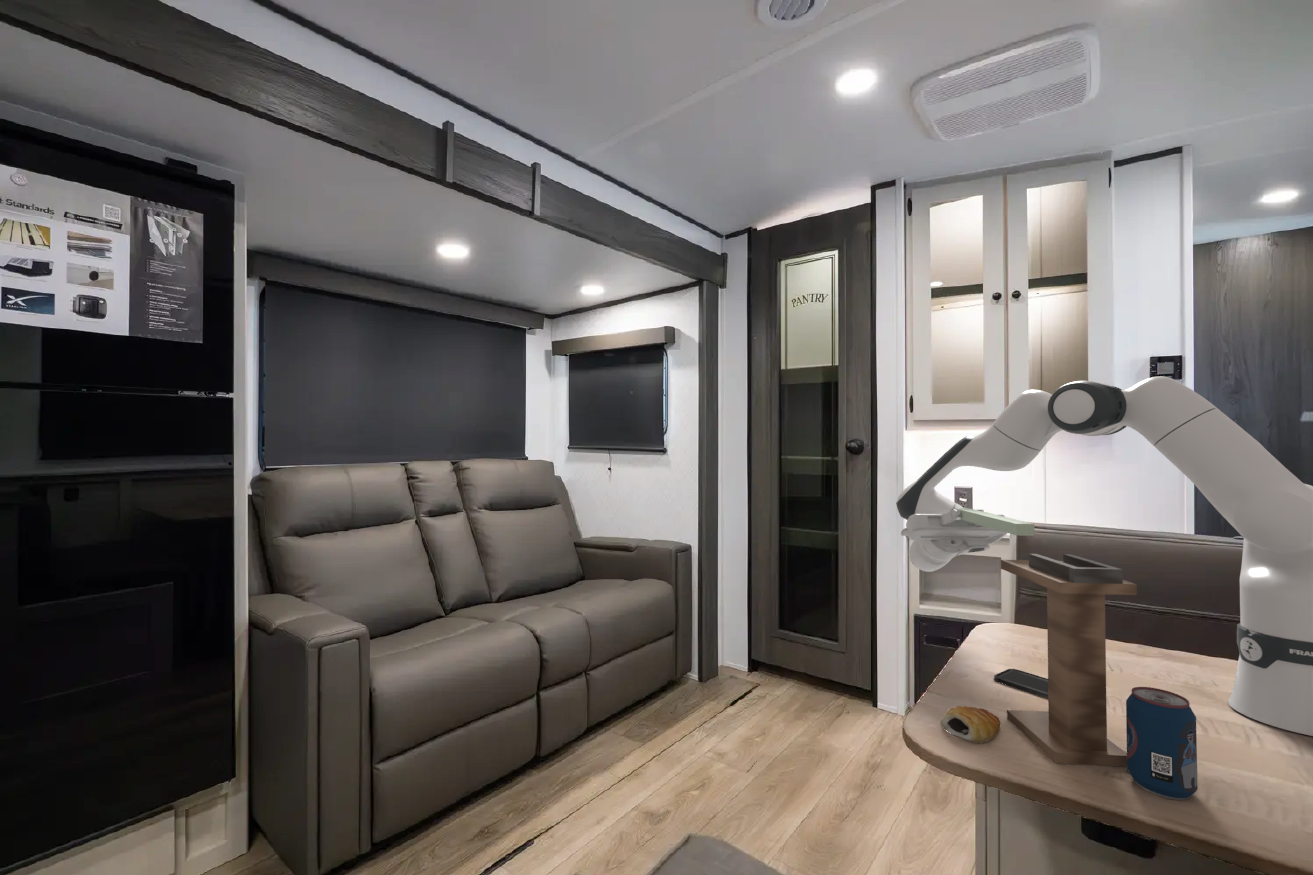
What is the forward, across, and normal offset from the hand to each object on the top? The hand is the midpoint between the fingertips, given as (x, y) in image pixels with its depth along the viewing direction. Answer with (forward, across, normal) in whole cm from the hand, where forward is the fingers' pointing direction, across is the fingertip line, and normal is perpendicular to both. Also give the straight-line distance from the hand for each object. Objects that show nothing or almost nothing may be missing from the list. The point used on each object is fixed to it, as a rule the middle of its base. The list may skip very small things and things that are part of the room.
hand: (969, 512), depth 116 cm
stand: (+11, 0, +42) cm, 44 cm away
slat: (+6, 0, +5) cm, 8 cm away
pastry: (+9, -13, +42) cm, 44 cm away
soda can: (+20, +6, +48) cm, 52 cm away
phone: (-6, +8, +33) cm, 35 cm away
